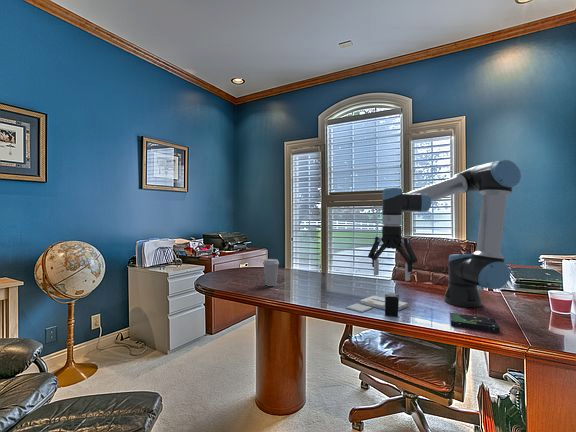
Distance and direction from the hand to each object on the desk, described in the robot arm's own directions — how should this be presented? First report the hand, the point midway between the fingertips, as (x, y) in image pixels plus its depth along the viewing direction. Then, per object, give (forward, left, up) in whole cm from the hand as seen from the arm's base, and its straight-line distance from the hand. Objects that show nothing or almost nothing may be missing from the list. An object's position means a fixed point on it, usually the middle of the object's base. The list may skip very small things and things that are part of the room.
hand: (391, 277), depth 120 cm
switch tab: (+5, -11, -14) cm, 19 cm away
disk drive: (-26, -12, -16) cm, 33 cm away
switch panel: (+9, -11, -15) cm, 21 cm away
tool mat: (+14, +2, -15) cm, 21 cm away
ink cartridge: (0, 0, -16) cm, 16 cm away
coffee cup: (+73, +3, -16) cm, 75 cm away
